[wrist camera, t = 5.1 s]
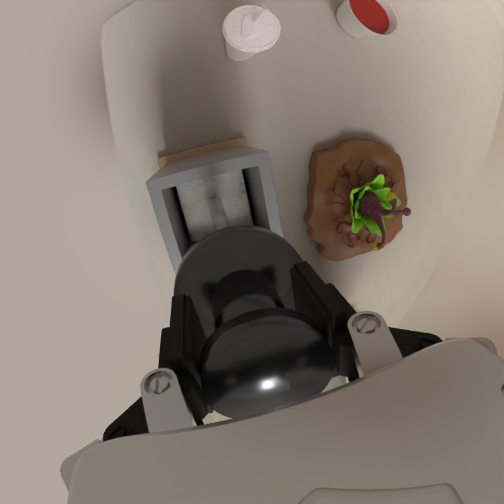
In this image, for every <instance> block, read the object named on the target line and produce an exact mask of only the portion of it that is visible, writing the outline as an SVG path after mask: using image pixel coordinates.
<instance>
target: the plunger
mask: <svg viewBox="0 0 504 504" xmlns="http://www.w3.org/2000/svg"><path fill="white" fill-rule="evenodd" d="M176 188H177V192H178V195H179V199H180V202H181V206H182V210H183V213H184V217H185V220H186V224H187V227H188V231H189V234H190V237H191V241H192V242H194V241H197V242H196V243H195V244H194V245H193V246H192V247H191V248H190V249H189V250H188V251H187V253H186V254H185V256H184V257H183V259H182V260H181V262H180V264H179V267H178V270H177V273H176V278H175V286H174V296H177V295H180V294H185V295H186V296H191V299H192V301H193V304H194V307H195V309H196V312H197V315H198V317H199V320H200V322H201V325H202V328H203V330H204V333H205V335H206V338H207V340H206V342H205V343H204V345H203V348H202V350H201V353H200V376H201V387H202V394H203V397H204V399H205V401H206V402H207V404H208V405H209V406H210V407H211V408H212V409H213V410H215V411H216V412H218V413H220V414H222V415H224V416H227V417H229V418H233V419H234V418H238V417H242V416H246V415H250V414H254V413H258V412H262V411H266V410H269V409H273V408H276V407H280V406H283V405H286V404H290V403H293V402H296V401H299V400H302V399H305V398H308V397H311V396H314V395H317V394H320V393H321V392H322V391H323V390H324V389H325V388H326V386H327V385H328V384H329V382H330V380H331V379H332V376H333V374H334V371H335V366H336V358H335V354H334V352H333V350H332V348H331V346H330V345H329V343H328V342H327V340H326V338H325V337H324V335H323V334H322V332H321V330H320V329H319V327H318V325H317V324H316V323H315V322H314V321H313V320H312V319H311V318H310V317H308V316H307V315H305V314H303V313H301V312H298V311H296V310H295V303H294V295H293V288H292V281H291V274H290V269H291V268H293V265H294V264H296V263H300V262H303V260H302V259H301V257H300V256H299V255H298V253H297V252H296V251H295V250H294V249H293V247H292V246H291V245H290V244H289V243H288V242H287V241H286V240H285V239H284V238H282V237H281V236H280V235H278V234H276V233H274V232H273V231H271V230H268V229H265V228H262V227H257V226H253V223H252V218H251V213H250V208H249V203H248V198H247V194H246V189H245V184H244V179H243V175H242V170H236V171H232V172H228V173H224V174H220V175H216V176H212V177H208V178H204V179H200V180H196V181H192V182H189V183H185V184H181V185H178V186H176ZM198 240H199V241H198Z"/></svg>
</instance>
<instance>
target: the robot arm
mask: <svg viewBox="0 0 504 504" xmlns="http://www.w3.org/2000/svg"><path fill="white" fill-rule="evenodd" d="M290 274H291V281H292V288H293V295H294V303H295V310H296V311H298V312H301V313H303V314H305V315H307V316H308V317H310V318H311V319H312V320H313V321H314V322H315V323H316V324H317V325H318V327H319V329H320V330H321V332H322V334H323V335H324V337H325V338H326V340H327V342H328V343H329V345H330V346H331V348H332V350H333V352H334V354H335V358H336V366H335V371H334V374H333V376H332V379H331V380H330V382H329V384H328V385H327V386H326V388H325V389H324V390H323V391H322V392H321V393H320V394H317V395H314V396H311V397H308V398H305V399H302V400H299V401H296V402H293V403H290V404H286V405H283V406H280V407H276V408H273V409H269V410H266V411H262V412H258V413H254V414H250V415H246V416H242V417H238V418H234V419H229V420H225V421H220V422H215V423H210V424H206V423H205V421H204V419H203V418H204V417H205V416H206V415H207V414H208V413H212V412H213V409H212V408H211V407H210V406H209V405H208V404H207V402H206V401H205V399H204V397H203V394H202V387H201V376H200V353H201V350H202V348H203V345H204V343H205V342H206V340H207V338H206V335H205V333H204V330H203V328H202V325H201V322H200V320H199V317H198V315H197V312H196V309H195V307H194V304H193V301H192V299H191V296H186V295H185V294H180V295H177V296H173V297H172V306H171V317H170V327H167V328H163V329H162V333H161V343H160V353H159V366H158V369H155V370H153V371H151V372H149V373H148V374H147V375H145V377H144V378H143V379H142V382H141V394H142V396H141V397H140V398H139V399H138V400H137V401H136V402H135V403H134V404H133V405H131V406H130V407H129V408H128V409H127V410H126V411H125V412H124V413H123V414H122V415H120V416H119V417H118V418H117V419H116V420H115V421H114V422H113V423H111V424H110V425H109V426H108V427H107V429H106V430H105V432H104V434H103V439H102V440H101V441H100V440H99V439H97V440H95V441H93V442H92V443H91V444H89V445H87V446H86V447H84V448H82V449H81V450H79V451H78V452H76V453H74V454H73V455H71V456H70V457H68V458H66V459H65V460H64V461H63V463H62V465H61V469H60V472H61V476H62V478H63V480H64V482H65V485H66V487H67V489H68V491H69V495H68V504H504V360H503V359H502V358H501V357H500V356H498V354H497V350H496V347H495V345H494V343H493V342H492V341H491V340H489V339H487V338H446V339H445V341H442V340H441V339H440V338H439V337H438V336H436V335H434V334H430V333H423V332H417V331H410V330H404V329H398V328H391V327H388V326H387V324H386V322H385V320H384V319H383V317H382V316H381V315H379V314H378V313H375V312H372V311H362V312H358V313H357V312H356V311H355V310H354V309H353V308H352V306H351V305H350V304H349V303H348V302H347V300H346V299H345V298H344V297H343V296H342V295H341V293H340V292H339V291H338V290H337V289H336V288H335V286H334V285H333V284H331V283H328V284H325V283H324V282H323V281H322V280H321V278H320V277H319V276H318V275H317V274H316V272H315V271H314V270H313V269H312V268H311V266H310V265H309V264H308V263H307V262H306V261H304V262H300V263H296V264H294V265H293V268H291V269H290Z"/></svg>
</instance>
